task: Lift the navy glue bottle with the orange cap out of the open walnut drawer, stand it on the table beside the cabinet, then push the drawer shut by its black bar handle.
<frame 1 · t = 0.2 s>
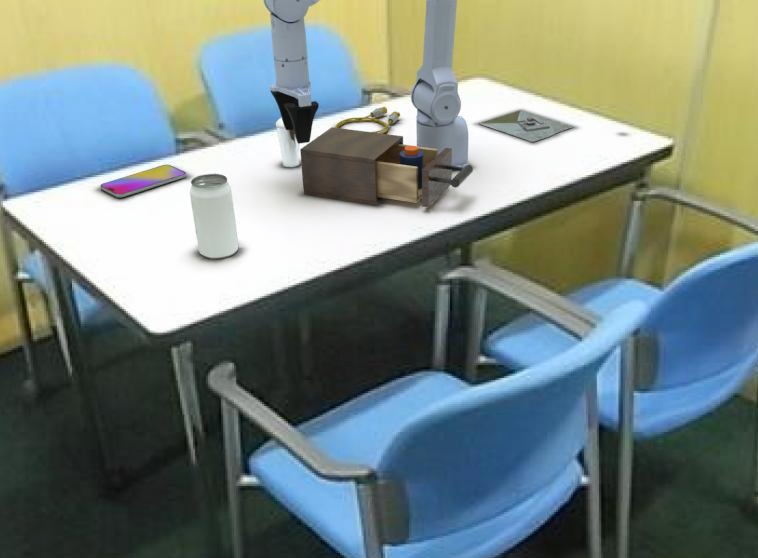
hand: (297, 135, 169), 10 cm above the table, tool pointing down, fingers open, 7 cm apart
extension cord: (369, 128, 202), on the table
milkshake: (293, 165, 185), on the table
smartphone: (144, 183, 179), on the table
cabinet: (354, 187, 175), on the table
mousepad: (549, 130, 199), on the table
glue bottle: (411, 186, 170), point 2 cm above the table, touching drawer
can: (219, 251, 154), on the table
drawer: (417, 174, 168), point 4 cm above the table, slide at 8.5 cm, touching glue bottle
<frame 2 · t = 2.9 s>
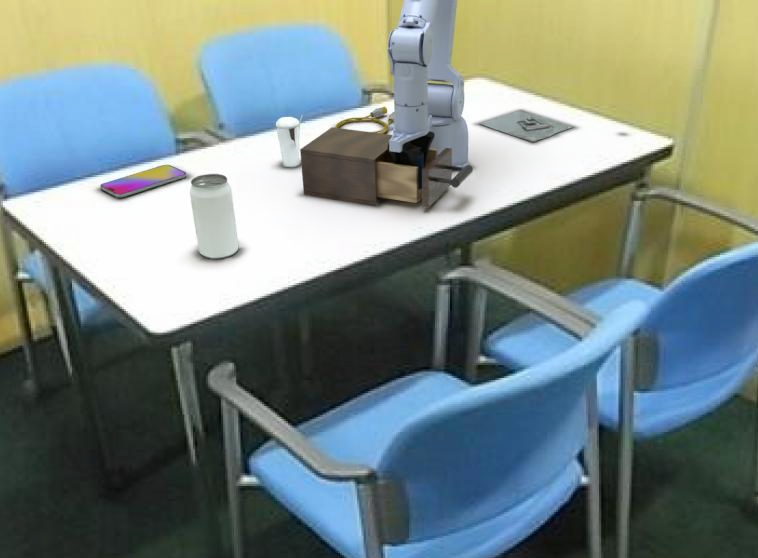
hand: (411, 178, 169), 3 cm above the table, tool pointing down, fingers closed on glue bottle, 4 cm apart
glue bottle: (411, 186, 170), point 2 cm above the table, touching drawer, gripper
everything else where it was.
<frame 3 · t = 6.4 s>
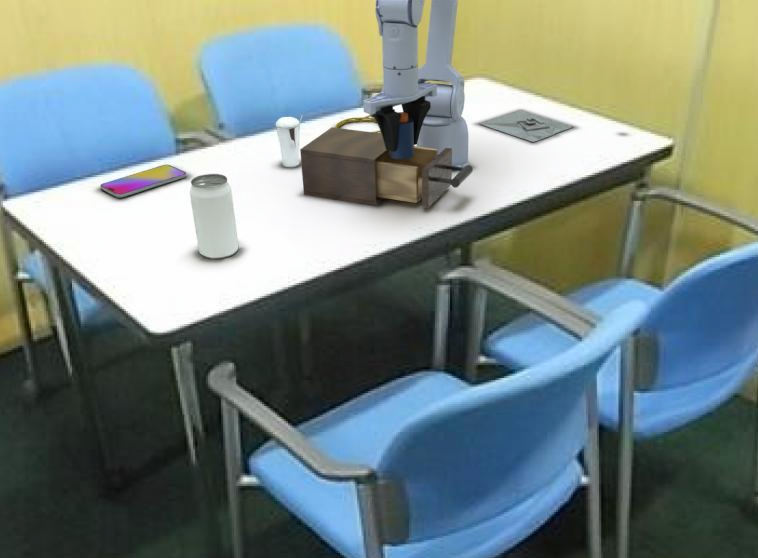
hand: (401, 146, 162), 10 cm above the table, tool pointing down, fingers closed on glue bottle, 4 cm apart
glue bottle: (401, 154, 163), point 9 cm above the table, touching gripper
drawer: (417, 174, 168), point 4 cm above the table, slide at 8.5 cm
everything else where it was.
when the fingers open (1 cm above the table, at t = 9.7 s): glue bottle stays where it is, on the table.
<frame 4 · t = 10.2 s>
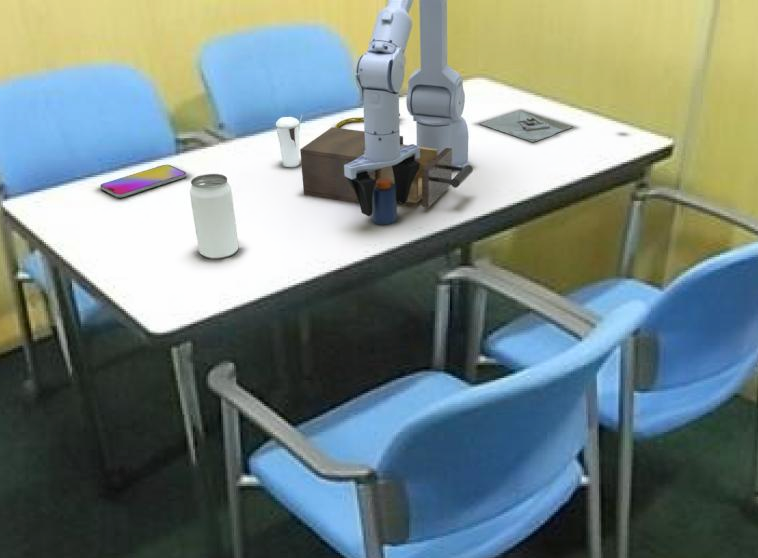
hand: (384, 207, 162), 2 cm above the table, tool pointing down, fingers open, 7 cm apart
glue bottle: (384, 219, 163), on the table
drawer: (417, 174, 168), point 4 cm above the table, slide at 8.5 cm, touching gripper
everything else where it was.
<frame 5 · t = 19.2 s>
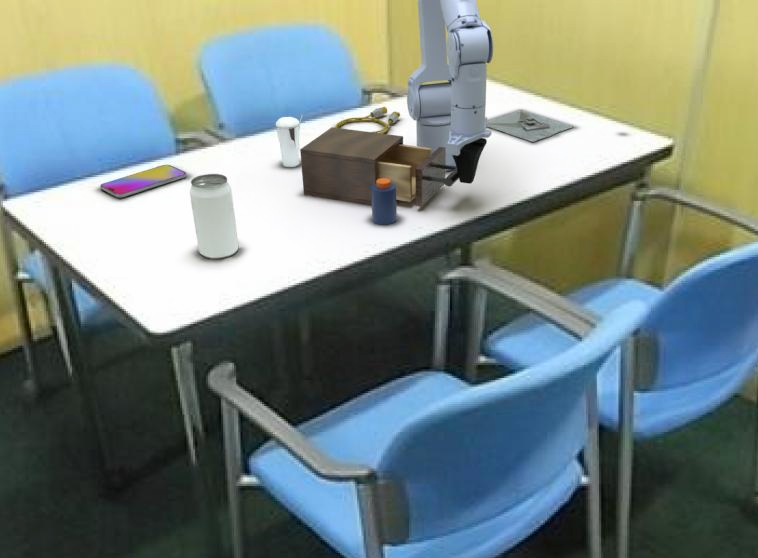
hand: (466, 181, 165), 4 cm above the table, tool pointing down, fingers closed, pressing on drawer
drawer: (411, 173, 169), point 4 cm above the table, slide at 7.3 cm, touching gripper
everything else where it was.
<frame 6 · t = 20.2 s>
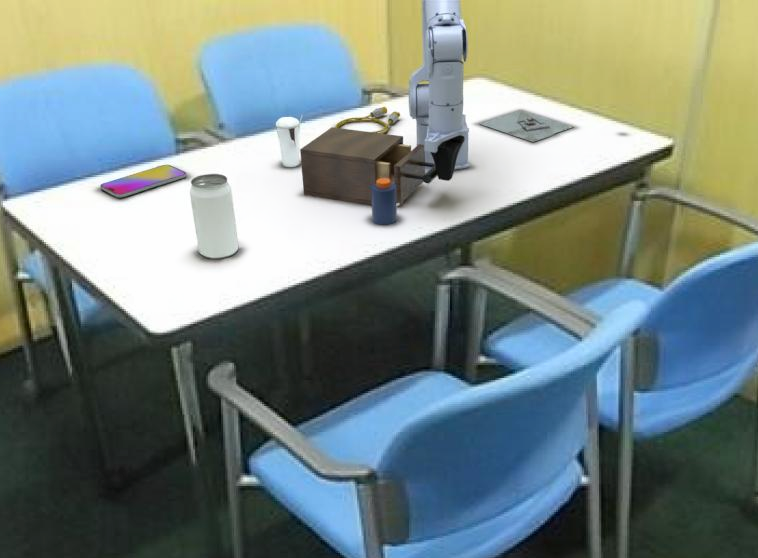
hand: (445, 178, 167), 4 cm above the table, tool pointing down, fingers closed, pressing on drawer
drawer: (390, 170, 170), point 4 cm above the table, slide at 3.3 cm, touching gripper
everything else where it was.
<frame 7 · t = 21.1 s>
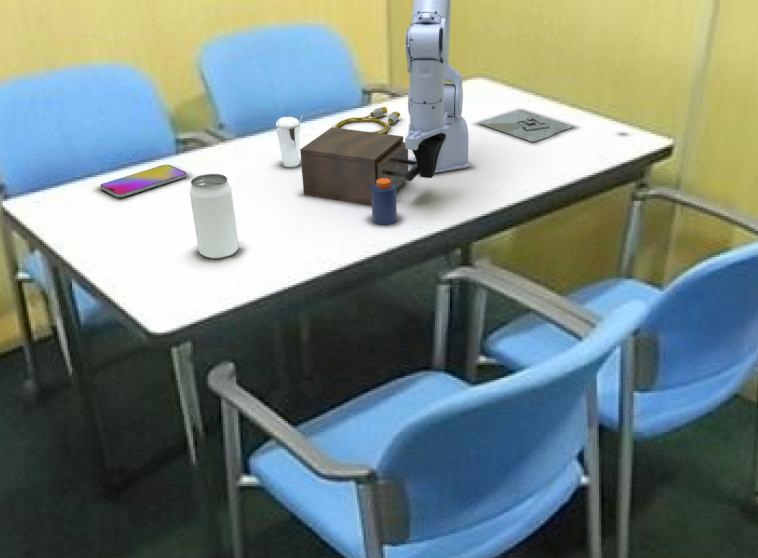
hand: (427, 176, 168), 4 cm above the table, tool pointing down, fingers closed, pressing on drawer
drawer: (374, 168, 171), point 4 cm above the table, slide at 0.0 cm, touching cabinet, gripper
everything else where it was.
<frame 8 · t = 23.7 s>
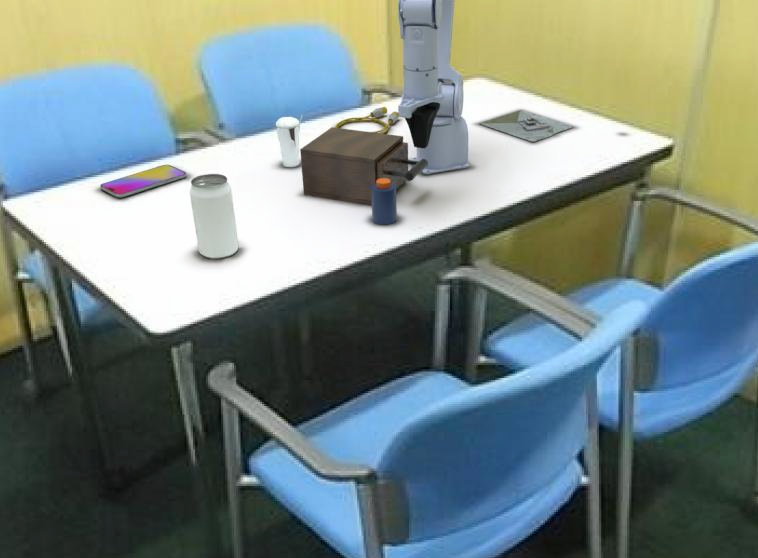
hand: (420, 146, 165), 9 cm above the table, tool pointing down, fingers closed
drawer: (374, 168, 171), point 4 cm above the table, slide at 0.0 cm, touching cabinet
everything else where it was.
at the end: glue bottle inside the target area (0.1 cm from its centre), on the table; glue bottle tilted 0°; drawer slide at 0.0 cm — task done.
